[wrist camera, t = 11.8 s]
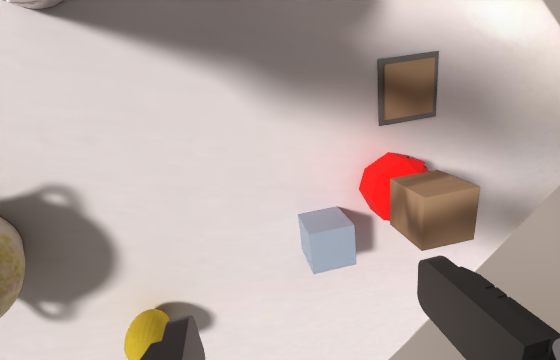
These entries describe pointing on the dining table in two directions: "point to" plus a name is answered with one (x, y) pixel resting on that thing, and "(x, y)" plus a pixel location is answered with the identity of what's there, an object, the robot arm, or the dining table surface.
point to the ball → (386, 180)
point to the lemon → (144, 332)
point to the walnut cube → (433, 208)
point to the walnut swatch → (407, 87)
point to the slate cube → (327, 239)
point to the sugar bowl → (10, 265)
